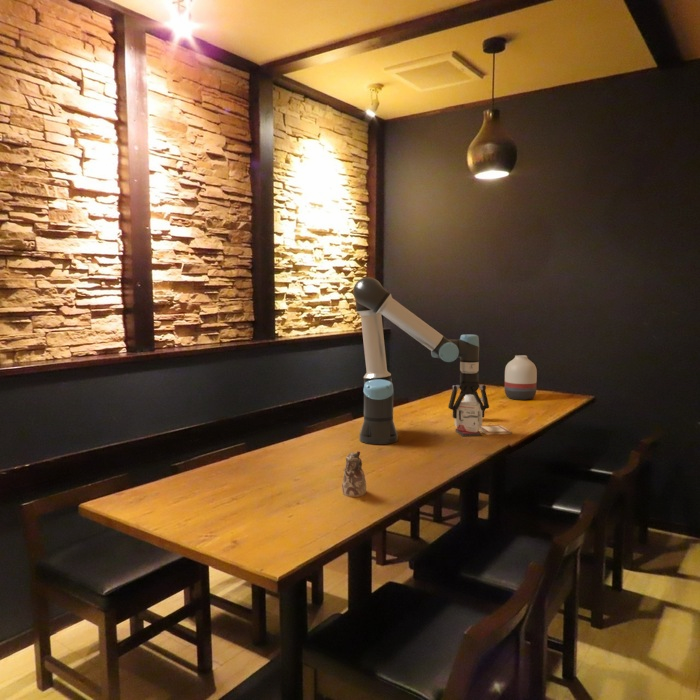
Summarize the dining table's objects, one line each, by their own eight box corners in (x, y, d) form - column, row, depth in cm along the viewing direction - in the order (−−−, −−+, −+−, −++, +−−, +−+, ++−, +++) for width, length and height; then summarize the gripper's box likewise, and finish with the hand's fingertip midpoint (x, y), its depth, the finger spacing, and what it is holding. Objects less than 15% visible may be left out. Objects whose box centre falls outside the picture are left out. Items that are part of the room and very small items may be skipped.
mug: (463, 421, 271) (463, 395, 270) (463, 418, 278) (464, 392, 277) (485, 422, 269) (486, 396, 268) (486, 419, 275) (486, 393, 274)
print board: (486, 434, 246) (486, 432, 246) (475, 427, 258) (475, 425, 258) (511, 433, 247) (511, 431, 247) (500, 426, 260) (500, 424, 260)
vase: (539, 397, 333) (540, 355, 331) (531, 402, 319) (532, 358, 316) (509, 394, 342) (510, 353, 340) (500, 399, 328) (501, 356, 325)
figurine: (336, 492, 175) (336, 452, 174) (354, 487, 180) (353, 448, 179) (354, 498, 170) (354, 457, 169) (371, 492, 175) (371, 452, 174)
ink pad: (462, 436, 243) (462, 433, 243) (455, 430, 253) (455, 428, 253) (481, 435, 244) (481, 432, 244) (473, 430, 254) (473, 427, 254)
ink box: (456, 430, 248) (456, 402, 247) (460, 428, 252) (460, 400, 251) (476, 432, 244) (477, 404, 243) (480, 430, 248) (480, 402, 247)
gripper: (445, 373, 241) (445, 428, 243) (498, 372, 244) (497, 426, 246) (440, 371, 248) (440, 424, 250) (491, 370, 251) (490, 422, 253)
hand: (468, 425), depth 248 cm, fingers closed on ink box, 9 cm apart
